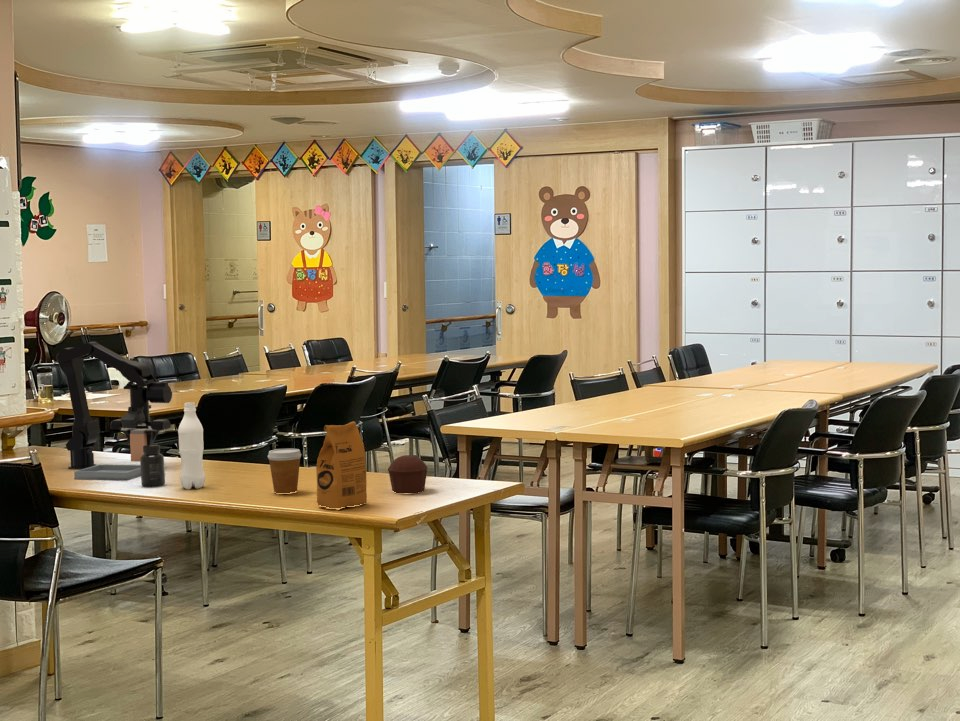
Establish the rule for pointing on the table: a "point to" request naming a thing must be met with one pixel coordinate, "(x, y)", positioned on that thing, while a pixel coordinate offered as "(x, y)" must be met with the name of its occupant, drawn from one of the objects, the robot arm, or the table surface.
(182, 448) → the water bottle
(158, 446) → the supplement bottle
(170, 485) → the table surface
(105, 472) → the tray
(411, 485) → the muffin
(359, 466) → the coffee package
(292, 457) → the disposable coffee cup
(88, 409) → the robot arm
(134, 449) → the tall box
